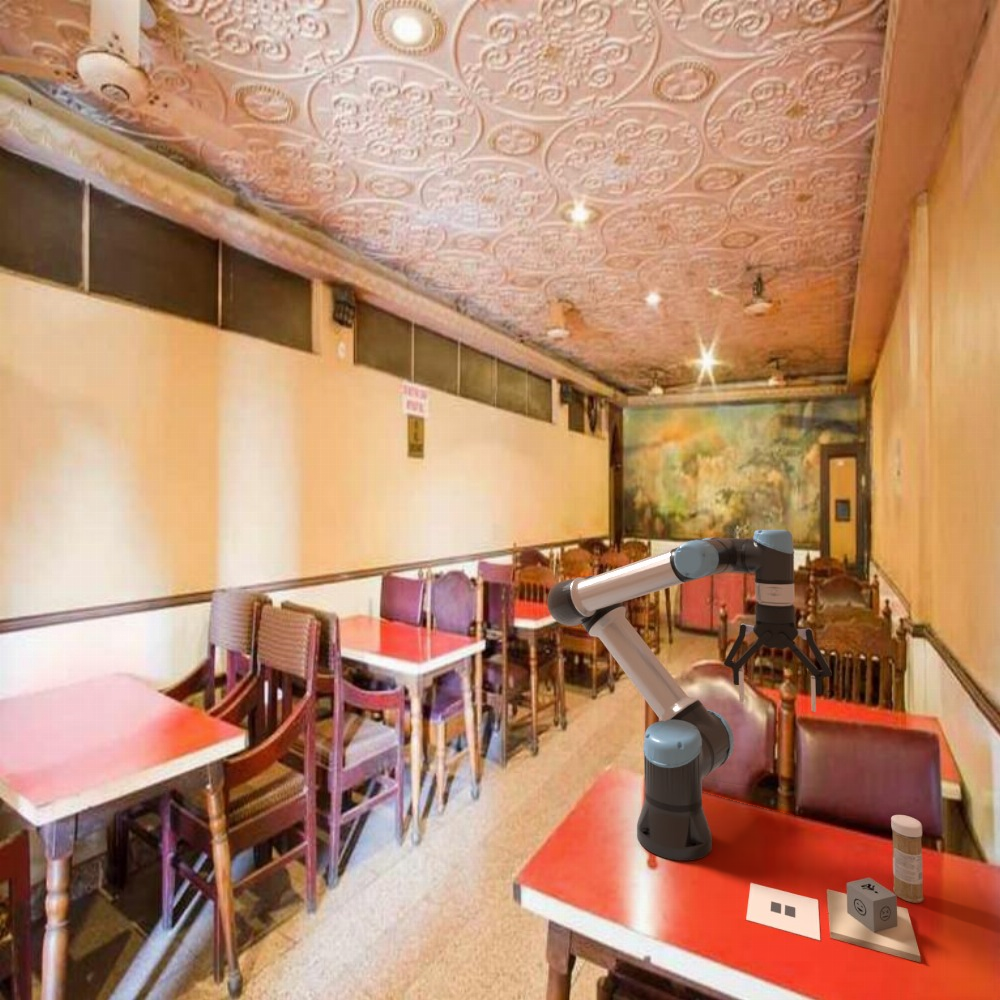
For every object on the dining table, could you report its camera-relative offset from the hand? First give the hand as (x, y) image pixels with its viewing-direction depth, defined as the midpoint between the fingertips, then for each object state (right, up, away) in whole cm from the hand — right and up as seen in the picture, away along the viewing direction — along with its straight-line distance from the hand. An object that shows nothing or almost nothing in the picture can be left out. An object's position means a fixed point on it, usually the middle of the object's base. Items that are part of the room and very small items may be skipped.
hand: (776, 705), depth 122 cm
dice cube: (+4, -27, -25) cm, 37 cm away
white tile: (-9, -28, -21) cm, 36 cm away
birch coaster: (+4, -28, -25) cm, 38 cm away
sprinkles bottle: (+15, -28, -17) cm, 37 cm away
